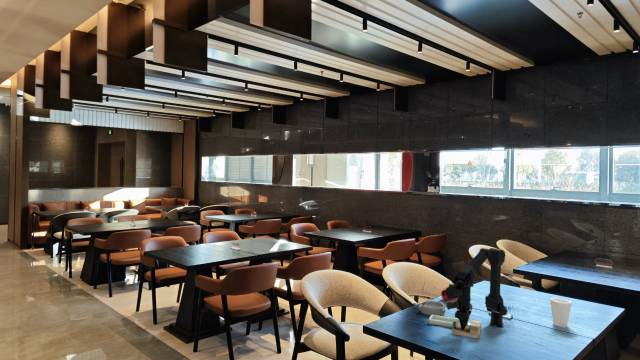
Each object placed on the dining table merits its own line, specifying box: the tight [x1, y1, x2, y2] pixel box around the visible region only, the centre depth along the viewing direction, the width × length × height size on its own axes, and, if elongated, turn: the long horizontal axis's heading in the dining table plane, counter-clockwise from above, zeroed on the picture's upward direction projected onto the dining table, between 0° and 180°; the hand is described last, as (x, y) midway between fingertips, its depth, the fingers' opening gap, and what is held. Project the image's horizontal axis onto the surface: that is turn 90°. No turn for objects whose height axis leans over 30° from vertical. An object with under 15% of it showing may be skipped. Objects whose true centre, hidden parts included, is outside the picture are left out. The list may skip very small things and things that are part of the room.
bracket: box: [451, 319, 482, 340], centre depth 201 cm, size 8×13×6 cm, turn 64°
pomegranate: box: [440, 288, 458, 302], centre depth 254 cm, size 10×10×9 cm
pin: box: [452, 321, 471, 331], centre depth 201 cm, size 3×11×3 cm, turn 64°
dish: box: [418, 300, 447, 316], centre depth 231 cm, size 14×14×5 cm
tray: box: [428, 315, 460, 329], centre depth 214 cm, size 9×16×2 cm, turn 64°
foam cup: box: [550, 297, 572, 328], centre depth 215 cm, size 10×9×13 cm
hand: (463, 327), depth 201 cm, fingers open, 6 cm apart
